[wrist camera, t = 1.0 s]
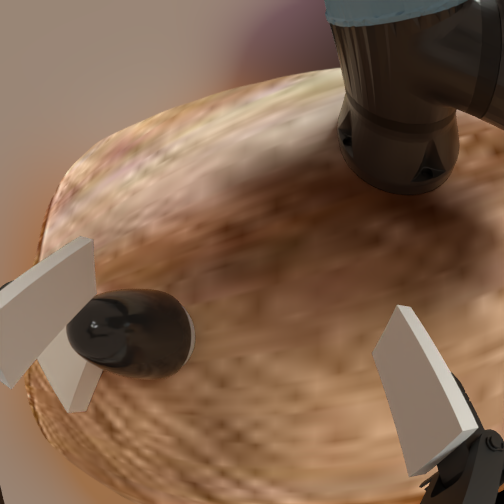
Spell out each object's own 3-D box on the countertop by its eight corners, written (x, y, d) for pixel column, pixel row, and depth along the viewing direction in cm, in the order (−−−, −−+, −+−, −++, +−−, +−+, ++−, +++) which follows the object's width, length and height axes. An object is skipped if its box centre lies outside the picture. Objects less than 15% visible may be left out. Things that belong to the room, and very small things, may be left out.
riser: (73, 284, 44) (55, 279, 40) (116, 340, 37) (95, 339, 33) (48, 351, 43) (32, 349, 39) (86, 411, 36) (67, 413, 32)
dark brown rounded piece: (194, 281, 34) (97, 246, 21) (219, 364, 30) (118, 378, 17) (136, 309, 37) (41, 289, 23) (154, 383, 33) (55, 392, 19)
